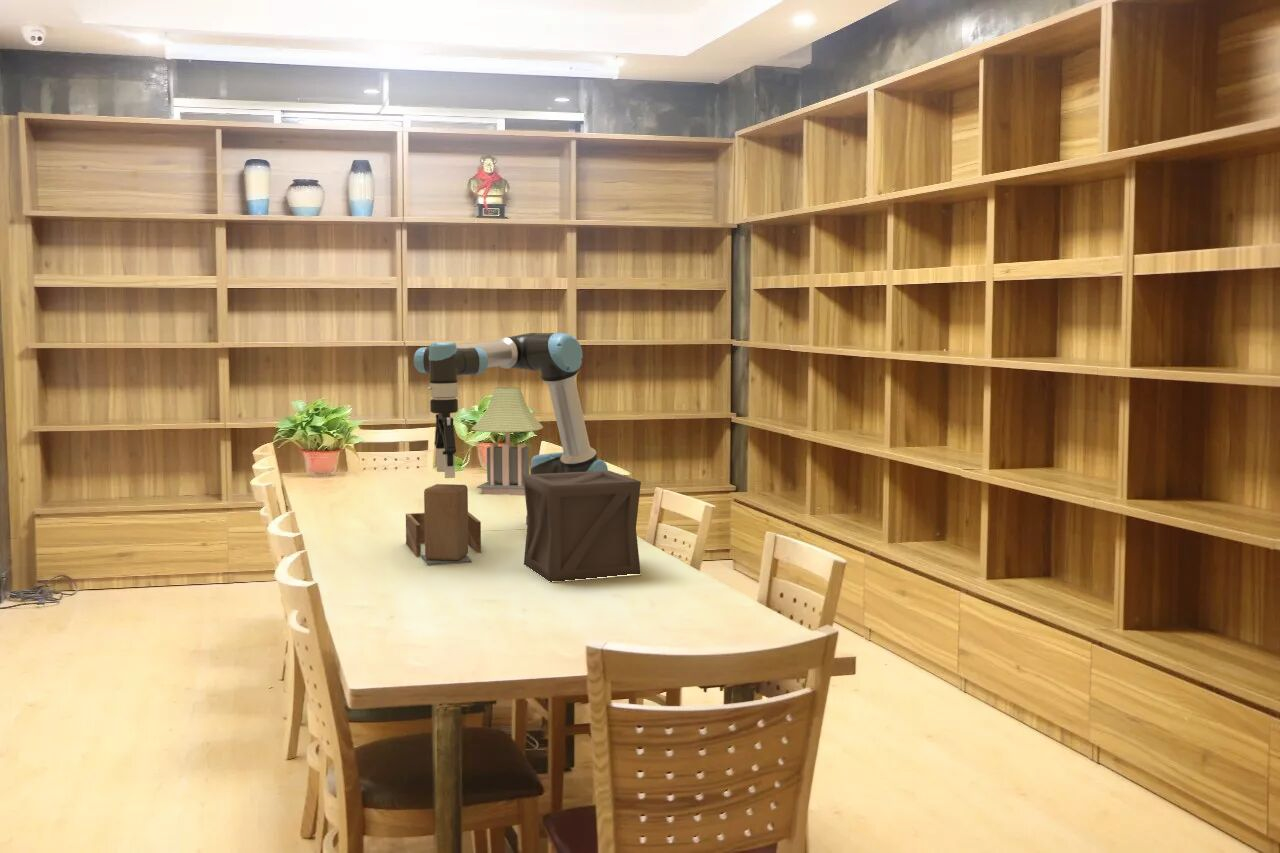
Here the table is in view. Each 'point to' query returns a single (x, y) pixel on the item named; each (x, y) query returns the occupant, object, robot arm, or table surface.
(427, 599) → the table surface
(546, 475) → the wooden crate
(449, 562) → the pad
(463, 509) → the block
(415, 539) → the cubby
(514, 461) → the desk lamp
